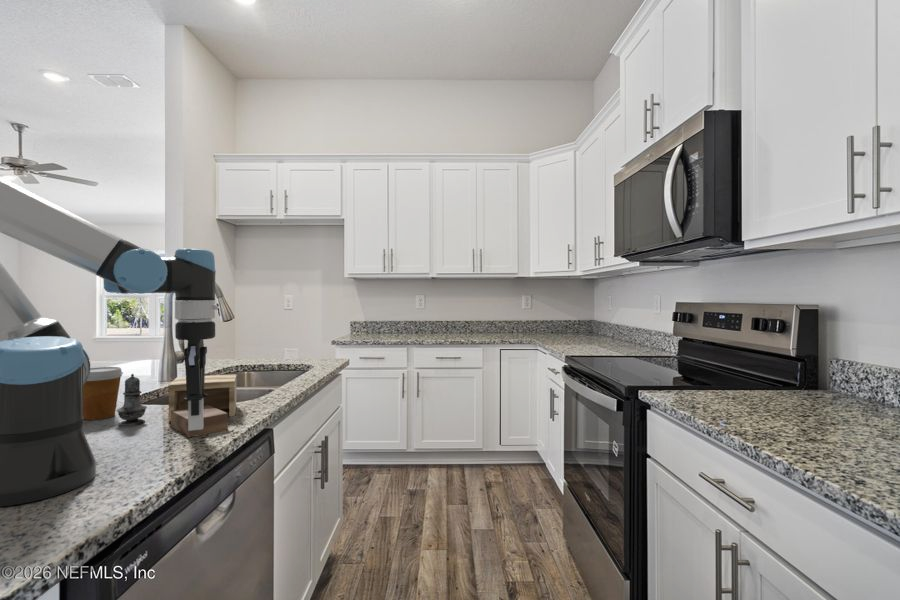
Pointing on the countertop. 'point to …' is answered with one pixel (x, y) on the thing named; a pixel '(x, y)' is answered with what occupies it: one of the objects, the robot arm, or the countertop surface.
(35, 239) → the robot arm
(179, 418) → the dark brown block
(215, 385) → the oak bridge
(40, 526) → the countertop surface
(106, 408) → the disposable coffee cup
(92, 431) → the countertop surface
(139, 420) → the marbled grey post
